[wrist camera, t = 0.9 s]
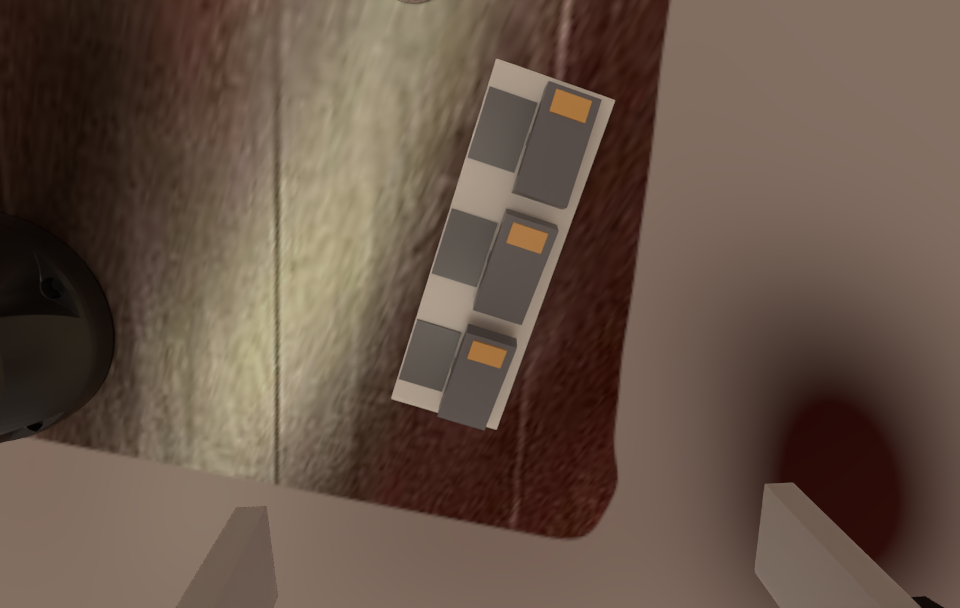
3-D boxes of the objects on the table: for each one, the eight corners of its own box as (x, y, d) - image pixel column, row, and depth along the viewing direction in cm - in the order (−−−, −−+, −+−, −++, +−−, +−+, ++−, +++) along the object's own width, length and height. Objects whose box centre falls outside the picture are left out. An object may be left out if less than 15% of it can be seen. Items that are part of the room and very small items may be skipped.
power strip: (398, 375, 40) (389, 403, 36) (493, 69, 36) (496, 56, 31) (494, 404, 41) (497, 434, 36) (599, 106, 36) (618, 98, 32)
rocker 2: (473, 301, 35) (472, 311, 33) (506, 208, 32) (506, 214, 31) (521, 316, 35) (521, 326, 34) (557, 224, 33) (558, 231, 31)
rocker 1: (511, 192, 32) (514, 190, 31) (544, 87, 32) (549, 79, 30) (562, 209, 32) (567, 207, 31) (595, 105, 32) (602, 98, 31)
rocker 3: (439, 405, 36) (437, 418, 35) (468, 323, 34) (466, 333, 33) (484, 419, 37) (484, 431, 35) (516, 338, 34) (517, 349, 33)
